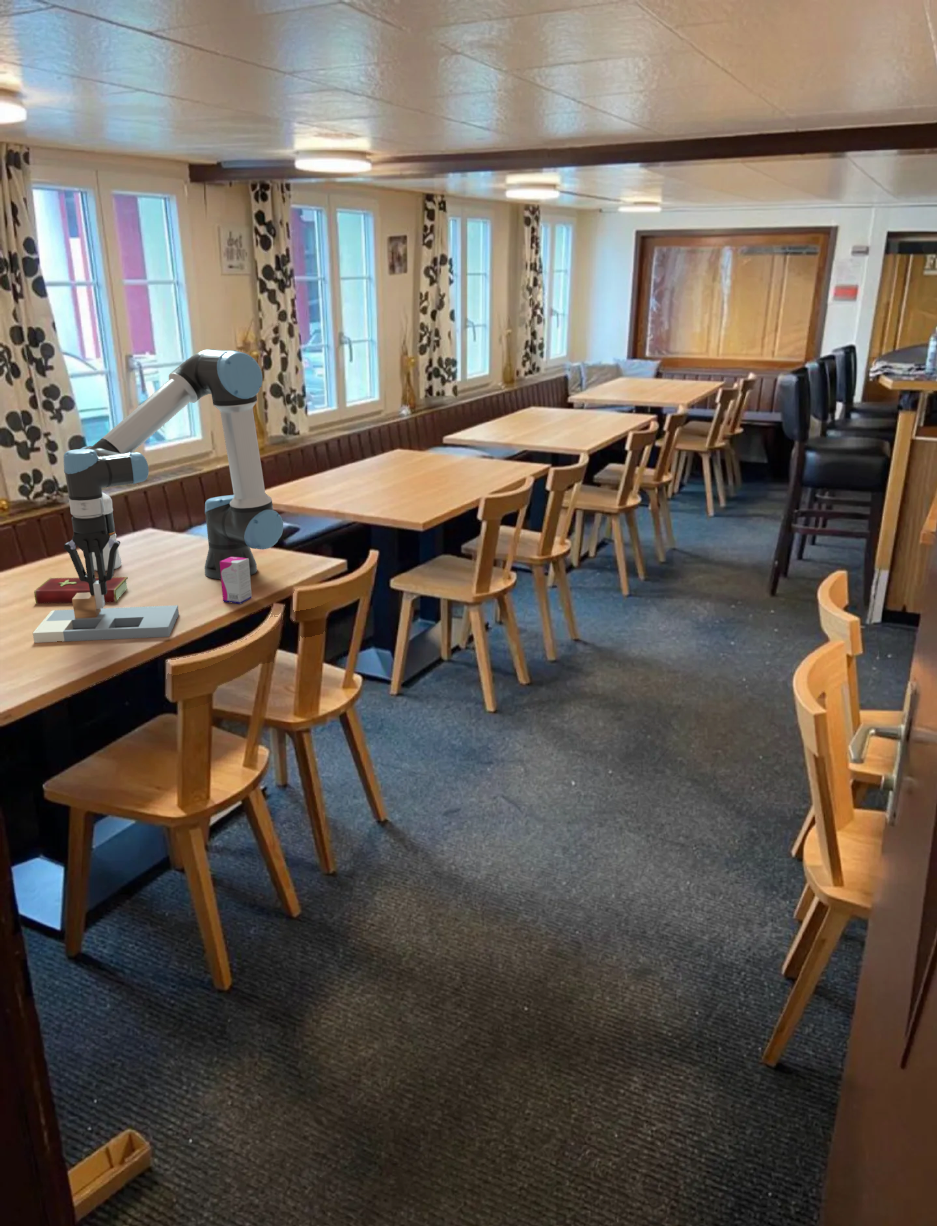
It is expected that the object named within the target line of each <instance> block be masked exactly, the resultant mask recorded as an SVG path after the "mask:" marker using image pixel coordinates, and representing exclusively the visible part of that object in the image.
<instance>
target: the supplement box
mask: <svg viewBox="0 0 937 1226" xmlns="http://www.w3.org/2000/svg"><path fill="white" fill-rule="evenodd" d="M220 571H221V579H220V582H221V592H222V594H221V595H222V602H223V601H224V602H223V603H229V602H232V603H231V604H238V605H241V604H244V603H245V602H247V601H250V600H251V599H253V598H252V597H253V596H252V584H251V582H252V581H251V576H250V568H249V558H240V557H229V558H227V559H225V560H222V561H220ZM243 602H244V603H243Z"/></svg>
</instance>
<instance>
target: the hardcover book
mask: <svg viewBox="0 0 937 1226" xmlns="http://www.w3.org/2000/svg"><path fill="white" fill-rule="evenodd" d="M95 577H96V579H95V581H99V578H98V576H95ZM127 580H128V576H113V577H112V579H111V580H108V581H106V584H107V593H106V595H104V600H105V603H118V600H119V597H122V596H123V594H124V593H125V592H126V591H127V590H126V589H128V585H127ZM87 592H90V589H89V584H88V582H85V581H80V579H79V576H78V577H75V576H74V577H49V578H48V579H46V580H45V581H44V582H43V583H42V584H41V585H39V586H38V587H37V588H36V589H35V590H34V592H33V593H34V600H35V604H73V603H72V599H73V598H74V596H75V595H76V594H77V593H87Z"/></svg>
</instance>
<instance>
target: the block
mask: <svg viewBox="0 0 937 1226" xmlns="http://www.w3.org/2000/svg"><path fill="white" fill-rule="evenodd" d="M72 602H73V603H72V606H73V609H72V610H74V615H75V618H95V617H97V616H98V614H99V613H100V611H101V609H97V608H96V601H95V595H91V594H90V592H87V593H77V594H76V595H75V596H74V598H73V599H72Z"/></svg>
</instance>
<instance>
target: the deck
mask: <svg viewBox="0 0 937 1226" xmlns="http://www.w3.org/2000/svg"><path fill="white" fill-rule="evenodd" d="M179 615H180V613H179V605H178V604H177V605H155V606H154V605H153V606H152V605H151V606H149V605H147V606H128V607H106V608H105V607H103V609H101V611H100V613H99V614H98V616H97V617H95V618H75V615H74V609H54V610H53V609H52V610H51V611H50V612H49V613H48V614H47V616H46V617H44V619H43V620H42V621H41V623H39V624H38V626H37V627H36V629H34V631H33V632H32V637H33V642H34V643H35V644H37V643H39V644H40V643H58V642H57V641H62V642H79V641H84V642H85V641H101V640H125V639H144V638H165V637H166V638H167V637H168V638H169V637H170V636H171V633H172V631H173V629H174V627H175V624H176V623H177V622H176V621H177V620H176V619H178V617H179Z"/></svg>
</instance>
